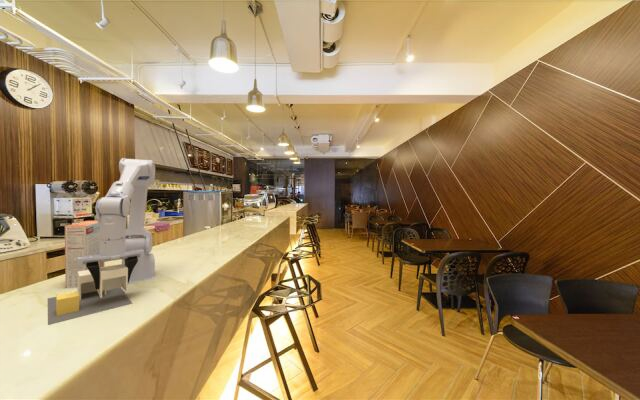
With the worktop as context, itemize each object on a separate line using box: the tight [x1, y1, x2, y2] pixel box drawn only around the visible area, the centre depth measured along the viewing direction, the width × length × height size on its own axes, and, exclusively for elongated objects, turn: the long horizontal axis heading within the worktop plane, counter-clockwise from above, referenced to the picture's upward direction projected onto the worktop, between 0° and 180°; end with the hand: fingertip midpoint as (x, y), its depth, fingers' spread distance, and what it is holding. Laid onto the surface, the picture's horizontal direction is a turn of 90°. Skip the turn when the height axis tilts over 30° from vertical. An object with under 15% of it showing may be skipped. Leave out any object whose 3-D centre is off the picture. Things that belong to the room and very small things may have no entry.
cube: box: [55, 290, 79, 316], centre depth 64 cm, size 4×4×4 cm
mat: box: [47, 287, 133, 326], centre depth 70 cm, size 16×20×1 cm
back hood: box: [77, 270, 107, 301], centre depth 74 cm, size 6×6×7 cm
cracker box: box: [64, 220, 105, 289], centre depth 85 cm, size 14×6×21 cm, turn 23°
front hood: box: [97, 263, 129, 298], centre depth 70 cm, size 6×6×7 cm
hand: (112, 285), depth 70 cm, fingers closed on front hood, 6 cm apart
